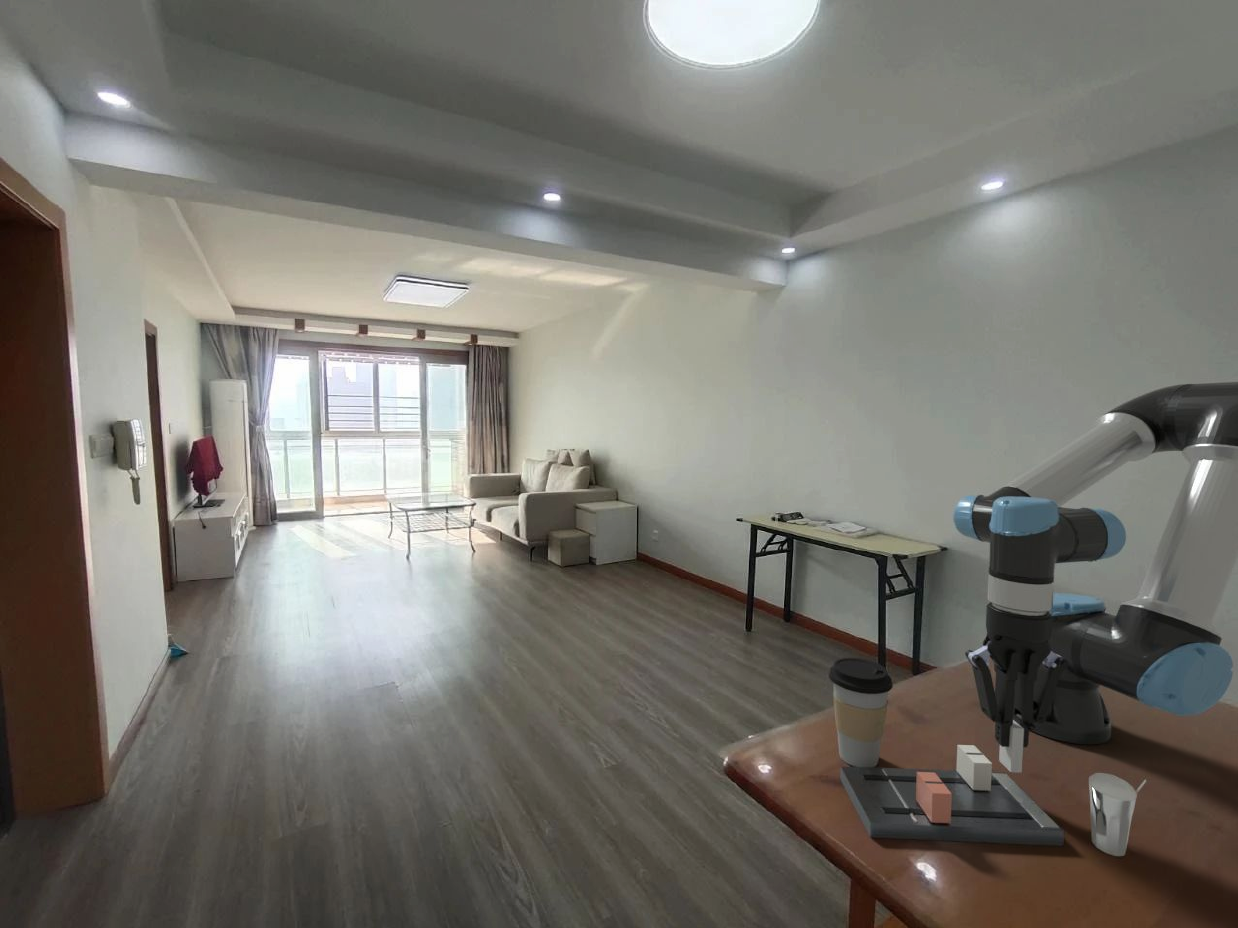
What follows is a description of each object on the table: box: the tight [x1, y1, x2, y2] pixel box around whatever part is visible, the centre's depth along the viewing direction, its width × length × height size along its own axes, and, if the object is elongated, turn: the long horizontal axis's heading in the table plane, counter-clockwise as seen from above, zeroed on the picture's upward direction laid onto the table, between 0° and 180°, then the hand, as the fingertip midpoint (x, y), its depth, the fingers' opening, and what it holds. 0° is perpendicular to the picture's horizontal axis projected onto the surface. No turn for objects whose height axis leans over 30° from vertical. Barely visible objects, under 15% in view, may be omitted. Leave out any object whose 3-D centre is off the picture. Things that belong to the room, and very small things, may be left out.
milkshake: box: [1088, 772, 1147, 857], centre depth 70 cm, size 4×5×10 cm
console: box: [839, 765, 1065, 847], centre depth 78 cm, size 24×12×2 cm, turn 86°
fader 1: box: [916, 772, 952, 823], centre depth 74 cm, size 2×4×4 cm, turn 176°
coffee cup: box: [828, 657, 894, 768], centre depth 89 cm, size 9×9×15 cm
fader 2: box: [955, 744, 993, 791], centre depth 81 cm, size 2×4×4 cm, turn 176°
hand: (1010, 766), depth 80 cm, fingers closed
